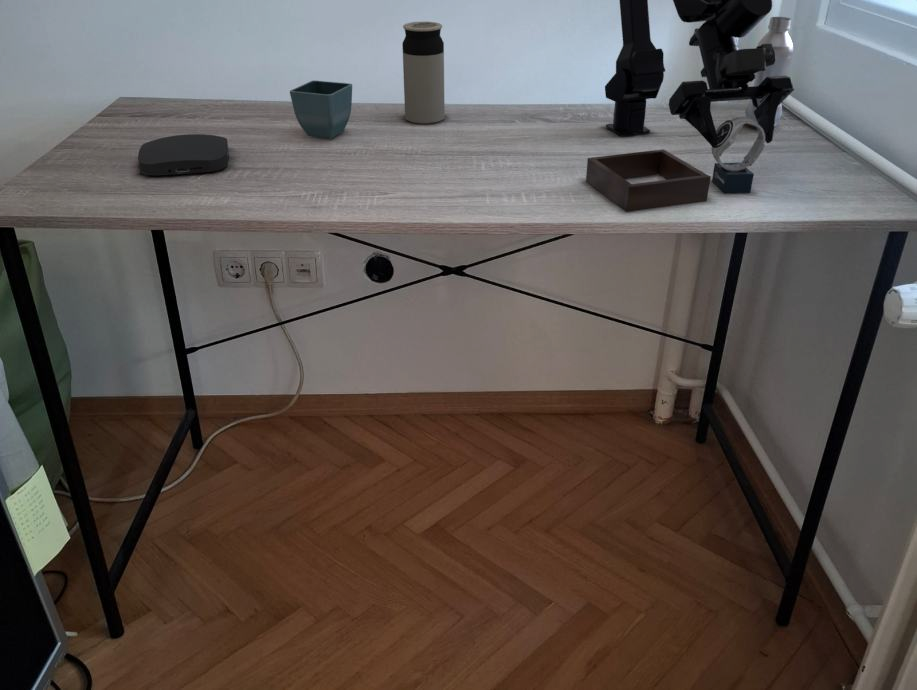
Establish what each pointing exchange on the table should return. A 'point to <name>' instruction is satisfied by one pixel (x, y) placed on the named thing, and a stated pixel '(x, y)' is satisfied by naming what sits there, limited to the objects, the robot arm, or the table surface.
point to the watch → (737, 174)
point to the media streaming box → (183, 154)
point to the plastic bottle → (782, 54)
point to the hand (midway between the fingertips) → (742, 144)
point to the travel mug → (423, 72)
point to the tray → (675, 190)
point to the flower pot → (322, 107)
